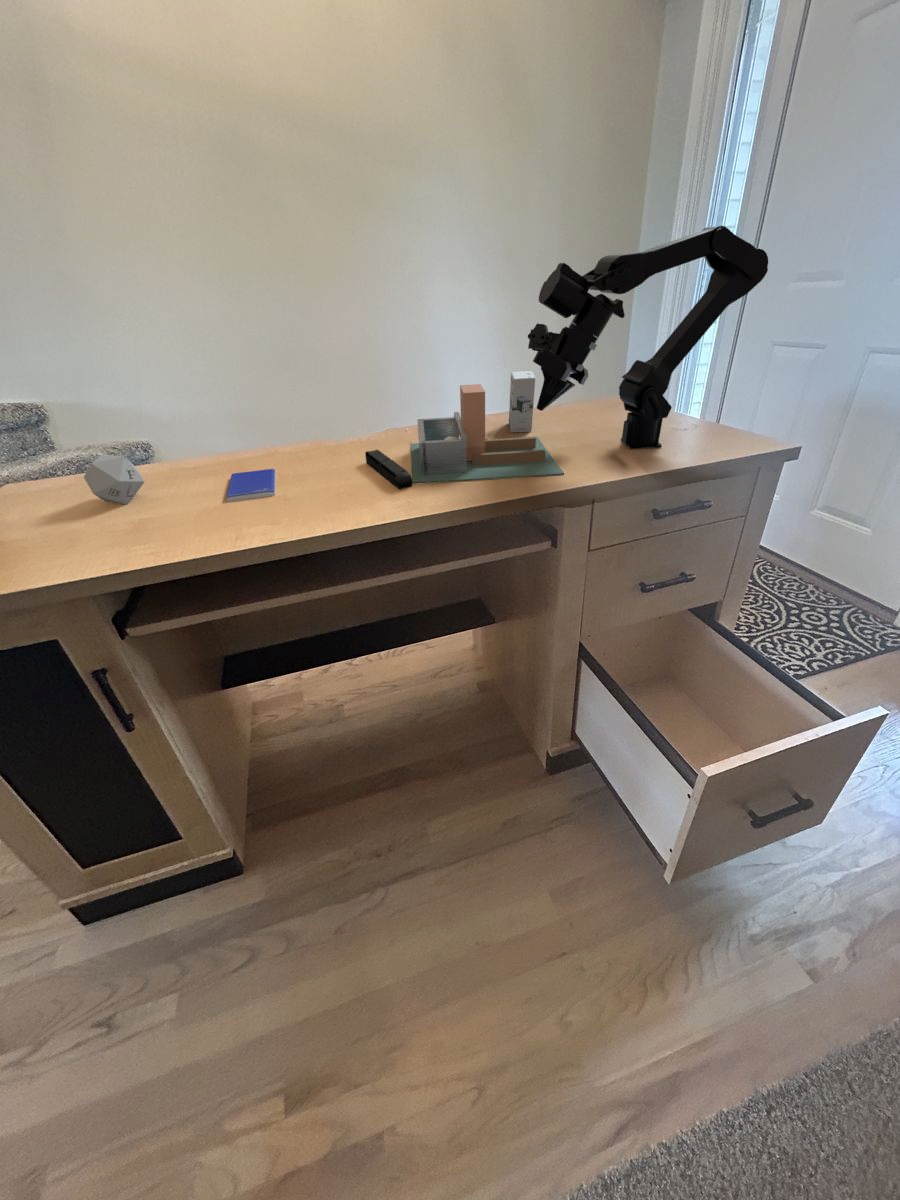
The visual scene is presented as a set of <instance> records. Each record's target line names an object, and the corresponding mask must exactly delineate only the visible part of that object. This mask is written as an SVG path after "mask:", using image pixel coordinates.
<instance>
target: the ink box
mask: <svg viewBox="0 0 900 1200" xmlns="http://www.w3.org/2000/svg"><path fill="white" fill-rule="evenodd" d="M509 384H510V390H509V409H508V410H509V412H508V424H509V428H510V432H511V433H531V432H532V427H533V414H534V401H535V389H536V387H535V386H536V376H535V374H534V372H533V371H532V370H526V371H525V370H522V371H511V372H510V383H509Z"/></svg>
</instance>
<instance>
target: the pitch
mask: <svg viewBox="0 0 900 1200" xmlns="http://www.w3.org/2000/svg"><path fill="white" fill-rule="evenodd" d="M410 463H411V464H410V466H411V478H412V485H417V484H418V485H419V484H432V483H433V484H436V483H452V482H466V481H483V480H484V481H485V480H486V481H487V480H498V479H499V480H500V479H516V478H517V479H518V478H532V477H547V476H551V477H552V476H564V475H565V472H564V471H563V469H562V468H561V467H560V466H559V464H558V463H557V462H556V460H555V459H554V458H553V456H552V455H551V454H550V452H549V450H548V449H547V448H546V446H545V445H544V444H543V443H542V441H541V440H540V439H539V437H538V436H537V435H536V436H522V437H521V436H520V437H506V438H505V437H503V438H502V437H501V438H489V439H488V438H485V453H480V454H473V461H467V473H454V474H437V475H421V466H420V452H419V442H417V443H410Z"/></svg>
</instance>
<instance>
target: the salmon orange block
mask: <svg viewBox="0 0 900 1200" xmlns="http://www.w3.org/2000/svg"><path fill="white" fill-rule="evenodd" d="M459 395H460V396H459V397H460V399H459V400H460V417H461V420H462V423H463V426H464V429H465V432H466V434H467V441H466V452H467V461H473V454H480V453H485V439H486V391H485V389H484V387H483V386H482V384H480V383H479V384H477V383H475V384H462V385H459Z"/></svg>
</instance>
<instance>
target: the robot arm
mask: <svg viewBox="0 0 900 1200" xmlns="http://www.w3.org/2000/svg"><path fill="white" fill-rule="evenodd" d="M701 258H704V260H705V261H706V264H707V266H709V268H711V269H712V273H711V275H710V278H709V279H708V286H707V288H706V290H705V292H704V294H703V295H702V296H701V297H700V298H699V300H698V301H697V303H695V305H694V306H693V307H692V308H691V310H690V311H689V312H688V313H687V315H686V316H685V317H684V318H683V319H682V321H680V323H679V324H678V325H677V327H676V328H675V329H674V331H673V332H672V333H671V334H670V335H669V336H668V338H667V339H666V340H665V341H664V342H663V344H662V345H661V346H660V347H659V349H657V351H656V352H655V354H654V355H653V356H652V357H651V358H650V359H648V360H645V361H642V360H639V359H637V360H636V361H634V363H632V365H631V367H630V369H629V370H628V371H627V372H626V373H625V374H624V375H622V377H621V378H622V381H621V383H620V384H619V386H618V389H619V391H618V392H619V393H618V395H619V399H620V400H621V402H622V403H623V407H624V410H625V411H626V412H627V411H628V412H627V416H626V420H624V421H623V428H622V433H621V435H622V436H621V438H620V442H622V443H623V444H624V445H626V446H627V448H629V449H630V450H637V449H638V450H640V449H654V448H662V443H660V436H661V431H662V425H663V419H666V418H668V416H669V414H670V413H671V410H672V408H673V407H672V405H671V404H670V403H669V401H668V400H667V399H666V397H665V396H664V395H665V393H666V391H667V390H668V389H669V385H670V381H671V378H672V374H673V372H674V371H675V370H676V369H677V367H679V365H680V364H681V363H682V362H683V360H685V358H686V357H687V355H688V354H689V353H690V352H691V351H692V350H693V349H694V347H695V346H696V344H697V343H698V342H699V341H700V340H701V339H702V337H704V335H705V334H706V333H707V331H708V330H709V329H710V328H711V327H712V325H714V323H715V322H716V320H717V319H719V317H720V316H721V314H722V313H724V311H725V310H726V309H727V308H728V307H729V306H730V305H732V304H733V303H734V302H736V301H738V300H740V299H741V298H744V297H745V296H746V295H747V294H749V293H750V292H751V291H752V290H753V289H755V287H756V286H757V285H758V284H760V283H761V282H762V281H763V280H764V278H765V277H766V276H767V275H766V274H767V273H768V270H769V269H768V266H769V257H768V253H767V252H766V251H765V250H764V249H762V248H756V247H755V246H754V245H753V244H751V243H750V242H748V241H746V240H744V239H743V238H741V237H739V236H738V235H736V234H734V232H733V231H731V230H730V229H729V228H728V227H727V226H724V225H717V226H715V225H714V226H706V227H704V228H703V229H701V230H700V231H696V232H694V233H691V234H687V235H686V236H685V235H684V236H682V237H680V238H677V239H673V240H671V241H669V242H666V243H663V244H660V245H656V246H653V247H651V248H649V249H646V250H641V251H634V252H633V251H632V252H624V253H617V254H616V253H615V254H608V255H604V256H603V257H601V258H600V259H599V260H598V261H597V264H596V265H595V267H594V268H593V269H591V270H589V271H588V272H586V273H584V274H583V275H581V274H579V273H578V272H576V271H575V270H573V269H572V267H571V266H570V265H569V264H567V263H565V262H559V263H558V265H556V268H555V270H553V271H552V273H551V274H550V275H549V276H548V277H547V279H546V280H545V281H544V282H543V284H542V286H541V287H540V291H539V295H538V302H539V303H540V304H541V305H543V306H545V307H546V308H548V309H549V310H551V311H553V312H555V313H556V314H558V315H559V316H561V317H562V318H564V319H568V318H570V317H572V316H574V317H573V319H572V320H571V323H570V324H569V325H568V327H567V326H564V327H562V329H561V331H560V332H559V333H557V332H552V331H549V329H548V326H547V325H546V324H544V323H536V325H535V326H534V327H533V329H531V328H530V332H529V333H528V335H527V338H528V341H529V342H528V347H527V348H528V349H529V350H530V349H531V350H532V351H534V352H536V354H535V356H534V358H533V360H532V362H533V363H535V364H536V365H537V366H539V367H540V370H541V372H542V376H543V383H542V387H541V391H540V395H539V398H538V401H537V404H536V405H537V406H536V410H538V411H541V412H542V411H544V410H545V409H546V408H547V407H549V406H550V405H551V404H553V403H554V402H555V401H556V400H558V399H559V398H560V397H561V396H562V395H564V394H565V393H567V392H568V391H570V390H571V389H572V388H574V387H575V386H576V384H575V383H573V382H572V381H571V379H573V380H575V381H576V382H577V383H578V384H580V385H581V386H583V385H585V383H586V381H587V380H588V378H589V371H588V369H587V368H586V367H585V366H584V363H585V361H586V360H587V358H588V356H589V354H591V352H592V350H593V351H595V350H596V348H597V346H598V344H596V343H597V341H598V340H599V338H600V336H601V334H602V333H603V331H604V330H605V328H606V326H607V324H608V322H609V321H610V319H611V318H612V316H613V315H614V316H616V317H618V318H620V319H623V318H625V315H626V314H625V309H624V301H623V299H622V300H621V299H619V298H616V299H615V300H613V299H611V298H610V297H608V296H607V295H605V294H615V295H623V294H626V293H628V292H630V291H631V290H633V289H635V288H637V287H639V286H640V285H642V284H643V283H644V282H646V280H648V279H649V278H651V277H652V276H654V275H656V274H658V273H662V272H664V271H667V270H670V269H674V268H676V267H679V266H682V265H685V264H687V263H690V262H692V261H695V260H698V259H701ZM589 290H590V291H598V292H599V291H600V294H597V295H595V296H594V295H593V294H591V293H590V292H589ZM603 293H604V294H603Z"/></svg>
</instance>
